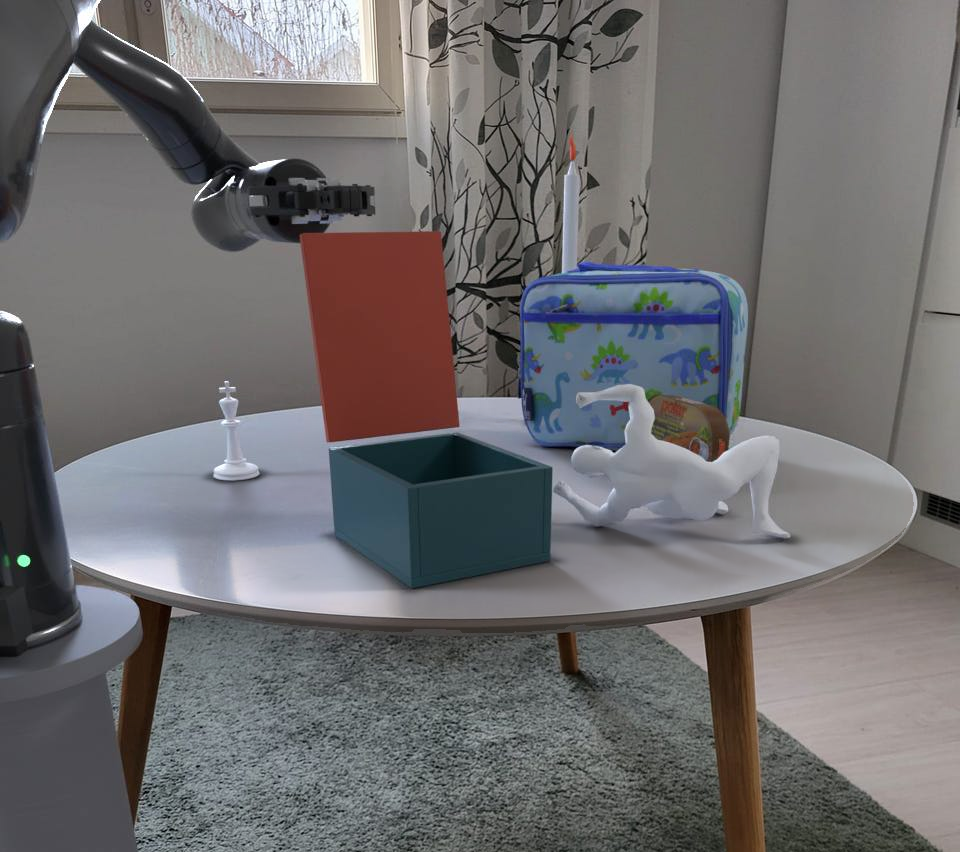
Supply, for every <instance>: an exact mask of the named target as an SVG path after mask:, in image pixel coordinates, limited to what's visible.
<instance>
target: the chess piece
mask: <svg viewBox="0 0 960 852" xmlns="http://www.w3.org/2000/svg"><path fill="white" fill-rule="evenodd" d="M218 393H219V394H224V393H225V397H224V398H222V399H221V398H220V400H219V401H218V404H219V406H220V408H221V412H223V416H224V418H225V419H224V420H223V421H221V422H220V426H221V427H225V428H226V438H227V439H226V459H224V463H223V464H220V465H217V466H216V467H214V468H213V478H214V479H216V480H219V481H231V482H232V481H233V482H234V481H244V480H250V479H254V478H256V477H258V476H259V475H260V474H261V473H260V471H259V466H257V465H256V464H254V463H251V462H246V461H247V458H245V457H244V456H243V453H242V449H241V443H240V441H239V435H238V431H237V427H239V426H241V425H242V422H241V421H240V420H238V419H237V418H236V416H237V410H238V406H239V400H238V399H237V398H234V397H232V396H231V393H237V389H236V386H232V387H230V382H229V381H227V380H226V381H224V387H219V388H218Z"/></svg>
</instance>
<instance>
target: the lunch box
mask: <svg viewBox="0 0 960 852" xmlns="http://www.w3.org/2000/svg"><path fill="white" fill-rule="evenodd" d="M519 307H520V308H519V310H520V313H519V314H520V317H519V318H520V319H519V324H520V327H519V328H520V332H519V334H520V354H518V356H517V357H516V363H517V365H518V366H519V368H517V399H518V400H519V399H521V409H522V416H523V420H524V423H525V426H526V429H527V431H528V433H529V435H530V436H531V438H532V439H533V441H534V442H535V443H537V444H538V445H540V446H542V447H548V448H550V447H559V448H564V447H569V448H570V447H571V448H578V447H580V446H584V445H591V446H599V447H603V448H605V449H608V450H611V451H615V452H617V451H618V450H619V449H621V448H622V447H623V446H624V445H626V441H625V432H624V431H625V428H626V425H627V423H628V422H629V420H630V414H629V408H628V407H629V403H630V401H628V402H624V401H617V400H598V401H595V402H591V403H590V404H588V405H586V406H584V407H582V408H579V405H578V404H576V398H577V394H578V393H579V392H598V391H603V390H606V389H608V388H611V387H614V386H617V385H626V384H632V385H636V386H640V387H642V388H643V389H644V391H645V397H646V400H648V399H649V398H650V397H651V396H653V395H656V394H660V395H673V396H679V397H682V398H686V399H689V400H693V401H696V402H700V403H704V404H707V405H711V406H714V407H716V408H718V409H719V410H720V411H721V412H722V413H723V415H724V417H725V419H726V421H727V424H728V427H729V432H730V436H731V435H732V434H733V433H734V431H735V429H736V428H737V425H738V424H739V423H738V422H739V419H740V414H741V405H742V397H743V383H744V382H743V381H744V370H745V359H746V348H747V336H748V325H749V308H748V307H749V306H748V301H747V296H746V293H745V291H744V288H743V287H742V286H741V284H739V283H738V282H737V281H736V280H735V279H734V278H732V277H729V276H727V275H726V274H722V273H718V272H714V271H709V270H703V269H702V270H700V269H699V268H696V269H695V268H694V269H693V268H692V269H691V268H679V267H676V268H675V267H672V266H666V265H659V266H658V265H657V266H654V265H653V266H652V265H641V264H640V265H639V264H634V265H632V264H631V265H630V264H629V265H628V264H606V263H605V264H603V263H602V264H600V263H599V264H598V263H595V262H591V261H589V260H585V261H582V262H579V263H577V269H574V270H571V271H567V273H562V272H561V273H556V274H552V275H549V276H542V277H541V276H540V277H539V278H536V279H534V280H533V281H531V282H530V283H528V285H526V287H525V289H524V290H523V293H522V296H521V300H520V306H519Z"/></svg>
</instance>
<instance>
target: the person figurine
mask: <svg viewBox="0 0 960 852" xmlns="http://www.w3.org/2000/svg"><path fill="white" fill-rule="evenodd" d="M598 400H617V401H624V402H628V401H630V403H629V407H628V408H629V414H630V420H629V422H628V423H627V425H626V428H625V431H624V432H625V441H626V445H624V446H623V447H622V448H621V449H619V450H618V451H615V452H613V450H608V449H605V448H603V447H599V446H591V445H584V446H580V447H576V448H575V449H574V450H573V452H572V455H571V457H570V462H571V466H572V469H573V471H574V472H576V473H578V474H582V475H585V476H587V477H589V478H590V479H592V478H597V477H599V476H600V475H605V476H607V478H608V479H609V481H610V482H611V484H612V486H613V488H612V490H611V491H610V493H609V494H608V496H607V502H605V503H603V504H602V505H601V507H599V506H597V505H595V504H593V503H591V502H589V501H588V500H586V499H585V498H583V497H582V496H580V495H578V494H576V493H575V492H574V491H573V489H572V488H571V487H570V486H569V485H568V484H566V483H565V481H563V480H561V481H558V482H557V483H556V484H555V485H554V487H553V489H552V493H554V494H556V495H558V496H559V497H560V498H563V499H564V500H566V501H567V502H568V503H569V504H571V505H572V506H573V507H574V508H575V509H576V510H577V512H578V513H579V514H580V515H581V516H582V518H584V520H585V521H587V522H589V523H590V524H591V525H593V526H594V527H602V526H604V525H605V524H608V523H612V522H615V523H616V522H622V521H624V520H625V519H626V518H627V517H628V515H629V514H630V510H633V509H640V508H643V507H644V508H646V509H648V510H649V511H650V512H651V513H653V514H655V515H658V516H661V517H665V518H668V519H671V520H679V519H681V520H683V519H690V520H693V521H707V520H709V519H711V518H713V517H714V515H716V514H719V515H723V516H724V515H725V514H727V513H728V512H729V507H728V504H726V503H725V502H724V501H726V500H728V499H729V498H731V497H733V496H734V495H735V494H737V493H738V492H739V491H740V489H741V488H742V487H743V486H744V485H747V484H748V483H749V490H750V498H751V504H752V513H753V516H752V522H751V526H750V530H751V531H750V532H752V533H754V534H763V535H769V536H770V535H771V536H773V537H775V538H782V539H784V540H785V539H787V538H788V539H789V538H791V534H790V533H789V532H788V531H786V530H785V531H784V530H783V529H782V528H781V527H779V526H778V525H777V523H775V521H774V520H773V519H772V518H771V516H770V514H769V499H770V498H769V497H770V494H771V492H772V489H773V488H772V487H773V484H774V481H775V477H776V474H777V471H778V466H779V465H778V463H779V455H780V453H781V445H780V444H781V443H780V440H779V439H778V438H777V437H776V436H774V435H761V436H757V437H752V438H750V439H749V438H748V439H746V440H743V441H742V442H740V443H737V444H736V445H735V446H733V447H731V448H729V449H728V450H727V451H726V452H724V453H723V454H722V455H721V456H720V457H719V458H718V459H717V460H715V461H713V462H706V461H705V460H704V459H703V458H702V457H701V456H699V455H697V454H695V453H693V452H691V451H689V450H687V449H685V448H683V447H680V446H678V445H675V444H672V443H669V442H665V441H661V440H657V439H656V438H655V437H654V436H653V435H652V434H651V429H652V425H653V422H654V419H655V415H654V409H653V408H652V407H651V405H650V404H649V402H648V401H647V400H646V397H645V391H644V389H643V388H642V387H640V386H636V385H632V384H626V385H617V386H614V387H611V388H608V389H606V390H603V391H598V392H579V393H578V394H577V398H576V404H578V405H579V408H582V407H584V406H586V405H588V404H590V403H591V402H595V401H598Z"/></svg>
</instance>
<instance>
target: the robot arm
mask: <svg viewBox="0 0 960 852" xmlns="http://www.w3.org/2000/svg"><path fill="white" fill-rule="evenodd" d="M100 1H101V0H0V244H3V243H5V242H8V241H9V240H10V239H12V238H13V237H14V236H15V235H16V234H17V232H18V231H19V230H20V229H21V227H22V225H23V223H24V221H25V219H26V215H27V213H28V209H29V207H30V204H31V199H32V195H33V192H34V191H33V190H34V186H35V181H36V176H37V170H38V167H39V166H38V165H39V160H40V155H41V150H42V145H43V140H44V135H45V131H46V128H47V124H48V121H49V118H50V116H51V114H52V111H53V108H54V105H55V103H56V100H57V98H58V96H59V93H60V91H61V89H62V87H63V86H64V84H65V82H66V80H67V79H68V76H69V74H70V72H71V69H72V67H73V65H74V66H75V67H76V68H77V69H79V70H80V71H81V72H82V73H83V74H84V75H85V76H86V77H87V78H88V79H89V80H90V81H91V82H93V83H94V84H95V85H96V86H97V87H98V88H99V89H100V90H101V91H102V92H103V93H104V94H105V95H107V96H108V97H109V98H110V100H112V102H113V103H114V104H116V106H118V108H120V110H121V111H122V112H123V113H124V114H125V115H126V116H127V118H128V119H129V120H130V121H131V122H132V123H133V124H134V125H135V127H136V128H137V129H138V130H139V132H140V133H141V134H142V135H143V137H144V138H145V139H146V141H147V142H148V144H150V146H151V147H152V149H153V150H154V151H155V152H156V154H157V155H158V156H159V157H160V159H161V160H162V162H164V163H165V165H166V166H167V168H168V169H169V170H170V171H171V172H172V174H173V175H174V176H175V177H176V178H177V180H179V181H181V182H183V183H184V184H187V185H192V186H195V185H203V184H205V185H204V186H203V188H202V189H201V190H200V191H199V192H198V194H197V195H196V196H195V198H194V199H193V201H192V204H191V207H190V217H191V221H192V224H193V227H194V229H195V230H196V232H197V233H198V235H199V236H200V237H201V238H202V239H203V240H204V241H205V242H206V243H208V244H209V246H212V247H213V248H216V249H217V250H219V251H223V252H227V253H240V252H242V251H243V252H244V251H245V250H248V249H250V248H251V247H253V246H255V245H257V244H259V242H261V241H262V240H266V241H267V240H268V241H270V242H276V243H287V244H288V243H289V244H301V243H300V234H302V233H326V231H327V230H328V228H329V226H330V225H331V224H333V222H341V221H342V218H343V217H344V218H345V216H348V215H350V216H353V217H360V216H364V215H366V217H373V215H374V216H375V215H376V214H377V213H376V196H375V193H376V192H375V191H376V190H375V186H372V185H370V184H365V185H359V184H358V183H351V185H346V184H345V185H343V183H340V181H339V180H338V179H330V177H327V176H326V175H325V174H324V172H323V171H322V170H321V169H320V168H319V167H317V165H315V164H314V163H311V162H310V161H307V160H305V159H303V158H302V159H301V158H284V159H278V160H271V161H266V162H265V161H264V162H262V163H261V162H259V161H258V160H257V159H256V158H254V157H253V156H251V155H250V154H249V153H247V152H246V151H245V150H244V149H243V148H241V147H240V146H239V145H238V144H237V143H236V142H235V141H234V140H233V139H232V138H231V137H230V136H229V134H227V132H226V131H225V130H224V129H223V128H222V127H221V125H220V123H219V122H218V120H217V119H216V117H215V116H214V114H213V113H212V112H211V110H210V108H208V106H207V105H206V103H205V101H204V100H203V98H202V97H201V96H200V94H199V93H198V91H197V90H196V89H195V88H194V86H193V85H192V84H191V83H190V82H189V81H188V80H187V79H186V77H184V76H183V75H182V74H181V73H180V72H178V71H177V70H176V69H174V68H173V67H172V66H170V65H169V64H168V63H166V62H164V61H162V60H161V59H159V58H157V57H154V56H153V55H151V54H149V53H147V52H146V51H143V50H141V49H139V48H137V47H135V45H132V44H130V43H128V42H127V41H124V40H122V39H121V38H120V37H117V36H115V35H114V34H112V33H110V32H109V31H107V30H106V29H105V28H103V27H101V26H100V25H99V24H97V23H96V22H94V20H92V19H93V18H92V17H93V15H94V12H95V11H96V8H97V6H98V4H99V3H100ZM31 344H32V343H31V339H30V335H29V332H28V329H27V327H26V325H25V323H24V322H23V321H22V320H21V319H20V318H19V317H17V316H16V315H13V314H12V313H9V312H7V311H5V310H4V311H3V310H0V657H17V656H20V655H22V654H23V653H24V652H26V651H27V650H29V649H32V648H35V647H38V646H41V645H44V644H47V643H50V642H53V641H55V640H57V639H60V638H62V637H64V636H66V635H67V634H69V633H71V632H72V631H74V630H75V629H76V628H77V627H78V626H79V625H80V624H81V622H82V620H83V614H82V609H81V604H80V601H79V600H78V596H77V590H76V585H77V584H76V581H75V575H74V569H73V564H72V560H71V555H70V550H69V545H68V539H67V534H66V528H65V523H64V518H63V512H62V507H61V501H60V497H59V491H58V486H57V479H56V474H55V470H54V464H53V459H52V454H51V453H52V452H51V448H50V443H49V438H48V437H49V436H48V432H47V428H46V427H47V426H46V421H45V416H44V410H43V404H42V400H41V394H40V388H39V382H38V376H37V371H36V367H35V364H34V363H35V360H34V355H33V349H32V345H31Z"/></svg>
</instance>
